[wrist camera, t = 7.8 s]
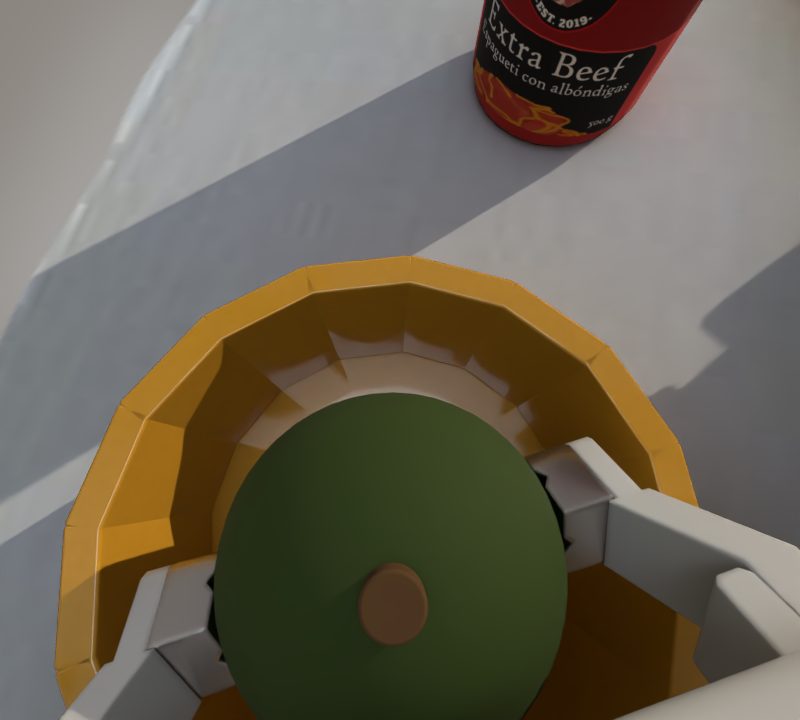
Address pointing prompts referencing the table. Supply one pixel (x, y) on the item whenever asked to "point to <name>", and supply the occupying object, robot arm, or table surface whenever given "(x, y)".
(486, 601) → the avocado
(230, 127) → the table surface
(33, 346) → the table surface
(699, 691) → the robot arm
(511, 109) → the canned food
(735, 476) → the table surface
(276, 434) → the pot
